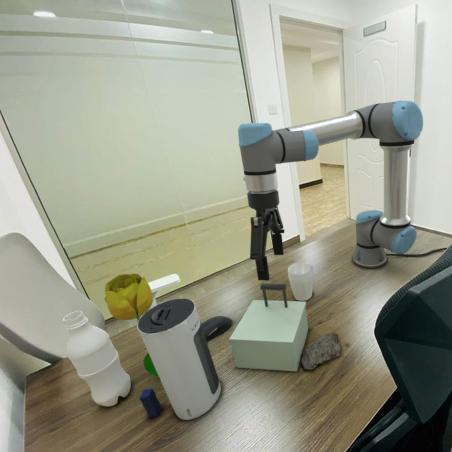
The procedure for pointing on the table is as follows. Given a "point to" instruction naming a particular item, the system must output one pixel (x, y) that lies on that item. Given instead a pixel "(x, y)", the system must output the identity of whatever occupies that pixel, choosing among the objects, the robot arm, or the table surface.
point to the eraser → (150, 402)
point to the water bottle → (95, 360)
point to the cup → (301, 280)
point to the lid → (270, 320)
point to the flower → (130, 303)
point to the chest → (272, 352)
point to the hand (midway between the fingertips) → (272, 266)
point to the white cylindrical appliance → (181, 356)
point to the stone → (321, 351)
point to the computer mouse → (215, 326)
